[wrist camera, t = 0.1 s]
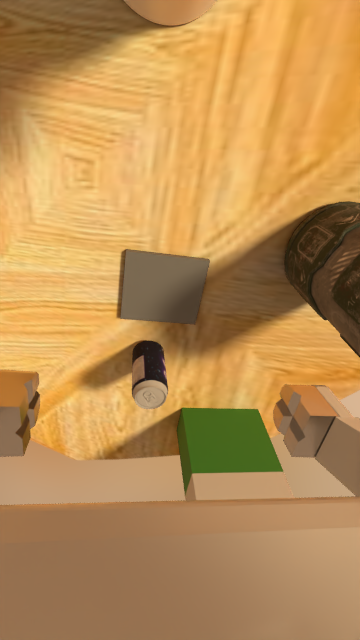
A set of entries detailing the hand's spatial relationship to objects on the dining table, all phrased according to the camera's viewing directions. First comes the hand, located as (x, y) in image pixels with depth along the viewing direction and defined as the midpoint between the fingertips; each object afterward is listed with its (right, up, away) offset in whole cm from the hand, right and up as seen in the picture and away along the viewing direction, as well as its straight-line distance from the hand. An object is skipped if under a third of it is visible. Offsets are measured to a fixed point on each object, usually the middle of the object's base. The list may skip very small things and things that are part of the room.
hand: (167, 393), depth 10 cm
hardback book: (+9, -20, +62) cm, 66 cm away
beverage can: (-5, -3, +48) cm, 49 cm away
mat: (-2, +8, +41) cm, 42 cm away
